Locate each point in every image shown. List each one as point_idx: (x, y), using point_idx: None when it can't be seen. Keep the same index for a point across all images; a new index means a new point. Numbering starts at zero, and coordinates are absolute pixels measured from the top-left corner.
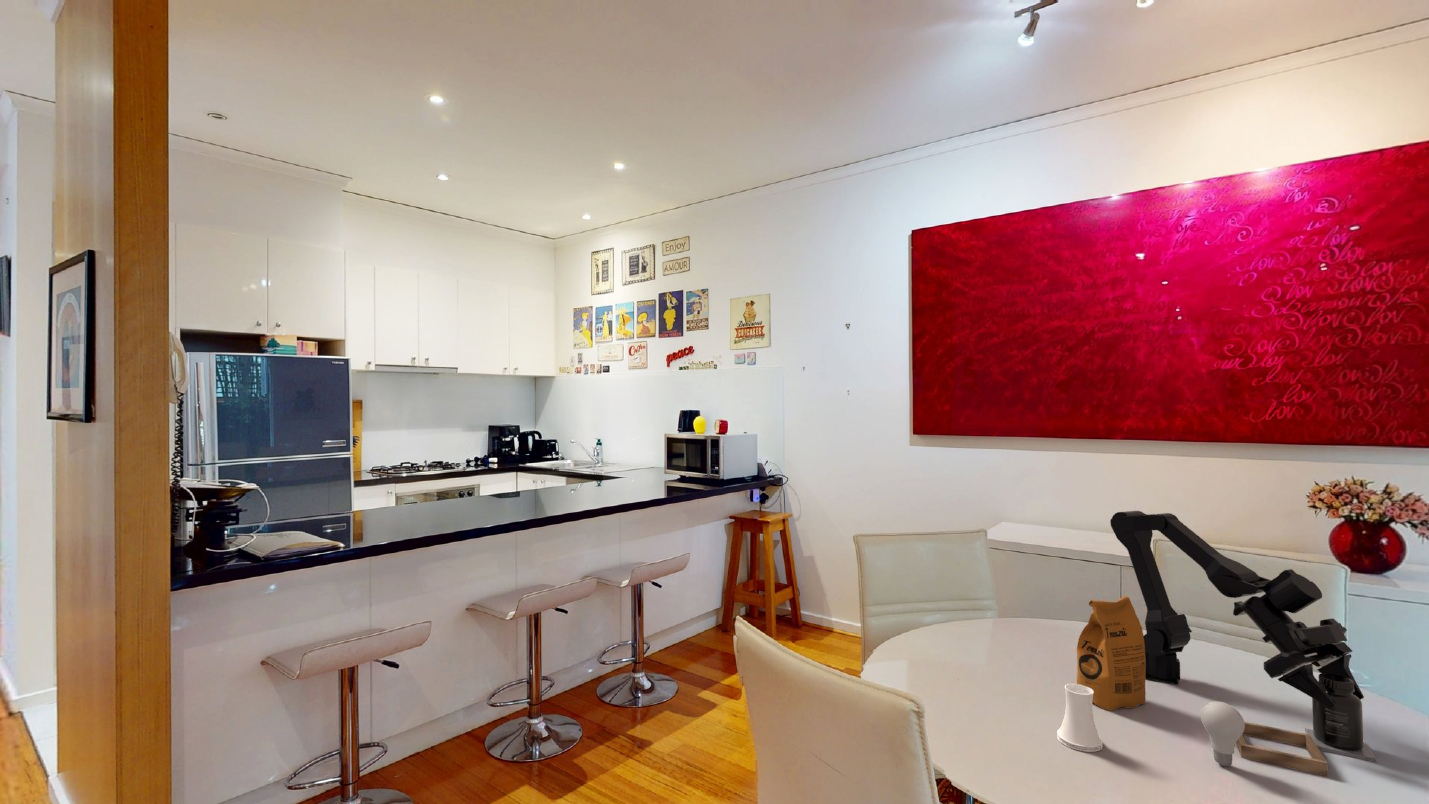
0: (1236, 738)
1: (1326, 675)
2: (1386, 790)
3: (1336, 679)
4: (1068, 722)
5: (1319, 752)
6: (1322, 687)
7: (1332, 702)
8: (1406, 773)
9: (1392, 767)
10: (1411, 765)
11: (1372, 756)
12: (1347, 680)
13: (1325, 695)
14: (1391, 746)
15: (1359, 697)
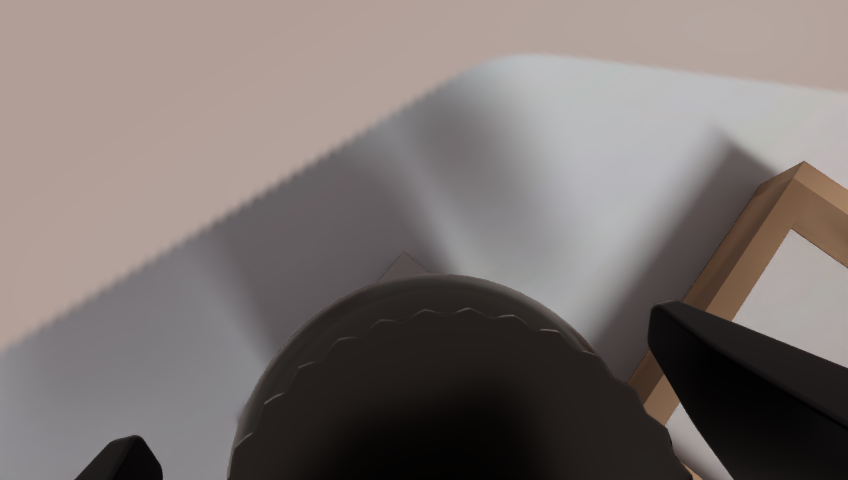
0: None
1: None
2: (610, 73)
3: None
4: None
5: (750, 254)
6: (830, 412)
7: (696, 308)
8: (377, 158)
9: (381, 207)
10: (269, 208)
11: (402, 268)
12: (374, 412)
13: (785, 345)
14: (130, 378)
15: (149, 462)
